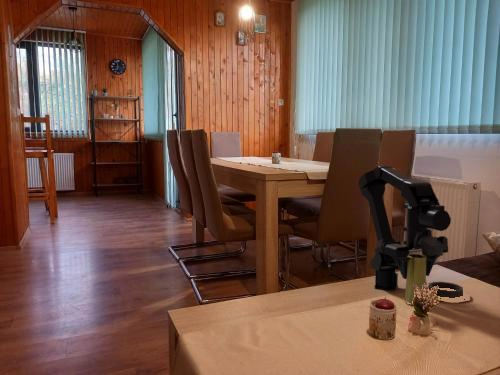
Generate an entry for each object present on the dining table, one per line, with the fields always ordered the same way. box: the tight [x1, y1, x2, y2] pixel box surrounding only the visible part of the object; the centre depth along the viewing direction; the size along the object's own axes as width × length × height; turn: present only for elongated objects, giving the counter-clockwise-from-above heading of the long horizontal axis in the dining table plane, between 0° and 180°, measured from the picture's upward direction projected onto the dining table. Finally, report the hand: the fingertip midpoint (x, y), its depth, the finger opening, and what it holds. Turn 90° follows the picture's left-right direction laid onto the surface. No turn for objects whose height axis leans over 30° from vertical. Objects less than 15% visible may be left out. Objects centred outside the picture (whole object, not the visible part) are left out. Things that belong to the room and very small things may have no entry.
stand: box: [428, 281, 465, 300], centre depth 128 cm, size 14×14×3 cm
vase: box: [404, 253, 427, 304], centre depth 122 cm, size 6×6×14 cm
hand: (416, 277), depth 122 cm, fingers open, 8 cm apart
